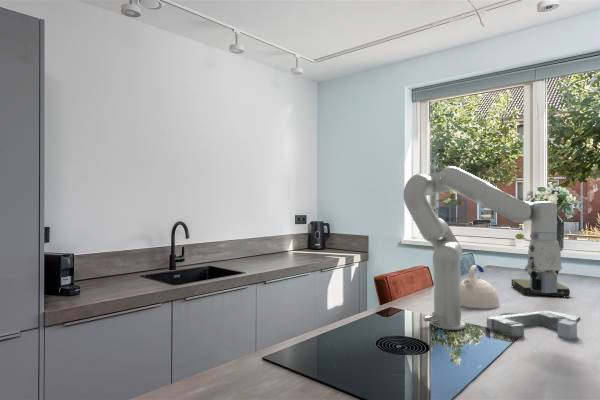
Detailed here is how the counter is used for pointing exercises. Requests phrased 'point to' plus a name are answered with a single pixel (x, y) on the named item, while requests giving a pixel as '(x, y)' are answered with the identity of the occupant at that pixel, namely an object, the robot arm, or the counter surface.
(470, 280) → the kettle
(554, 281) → the module block
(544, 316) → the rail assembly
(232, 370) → the counter surface
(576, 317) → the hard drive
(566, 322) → the block
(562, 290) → the network switch
